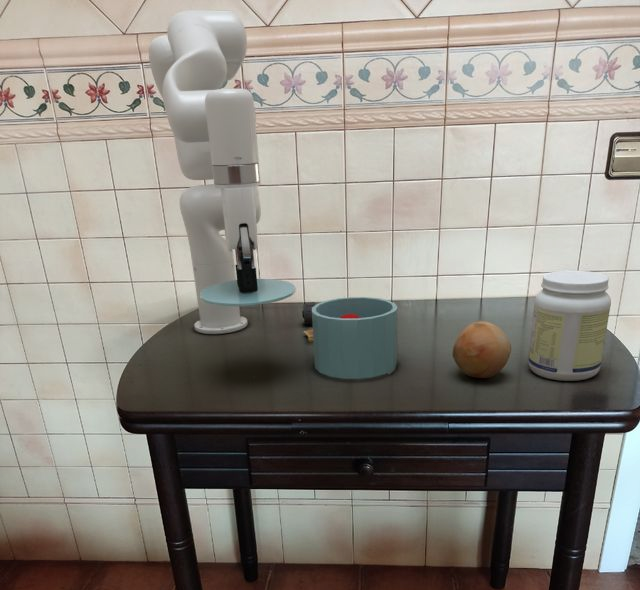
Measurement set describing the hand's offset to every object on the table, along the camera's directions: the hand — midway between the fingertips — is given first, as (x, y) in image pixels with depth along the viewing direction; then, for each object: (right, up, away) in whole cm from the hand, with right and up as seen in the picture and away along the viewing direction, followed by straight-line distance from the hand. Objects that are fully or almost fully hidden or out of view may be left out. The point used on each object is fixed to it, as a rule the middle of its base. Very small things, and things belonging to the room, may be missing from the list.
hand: (247, 288), depth 105 cm
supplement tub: (+57, -14, +3) cm, 58 cm away
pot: (+20, -13, +10) cm, 25 cm away
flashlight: (+17, 0, +37) cm, 40 cm away
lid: (0, -1, 0) cm, 1 cm away
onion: (+41, -16, +2) cm, 44 cm away
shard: (+15, -5, +26) cm, 30 cm away
